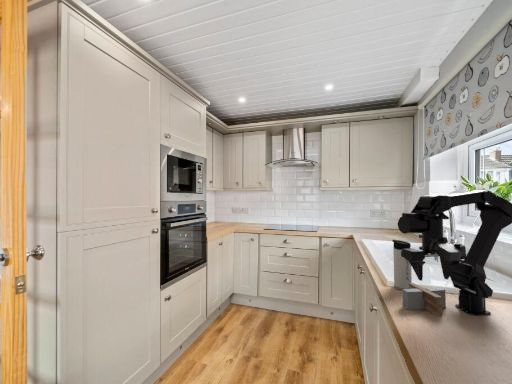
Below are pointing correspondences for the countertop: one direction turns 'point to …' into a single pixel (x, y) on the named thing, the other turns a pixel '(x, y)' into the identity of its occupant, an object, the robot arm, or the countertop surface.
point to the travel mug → (401, 266)
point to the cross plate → (430, 300)
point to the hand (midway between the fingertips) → (433, 279)
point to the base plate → (420, 298)
